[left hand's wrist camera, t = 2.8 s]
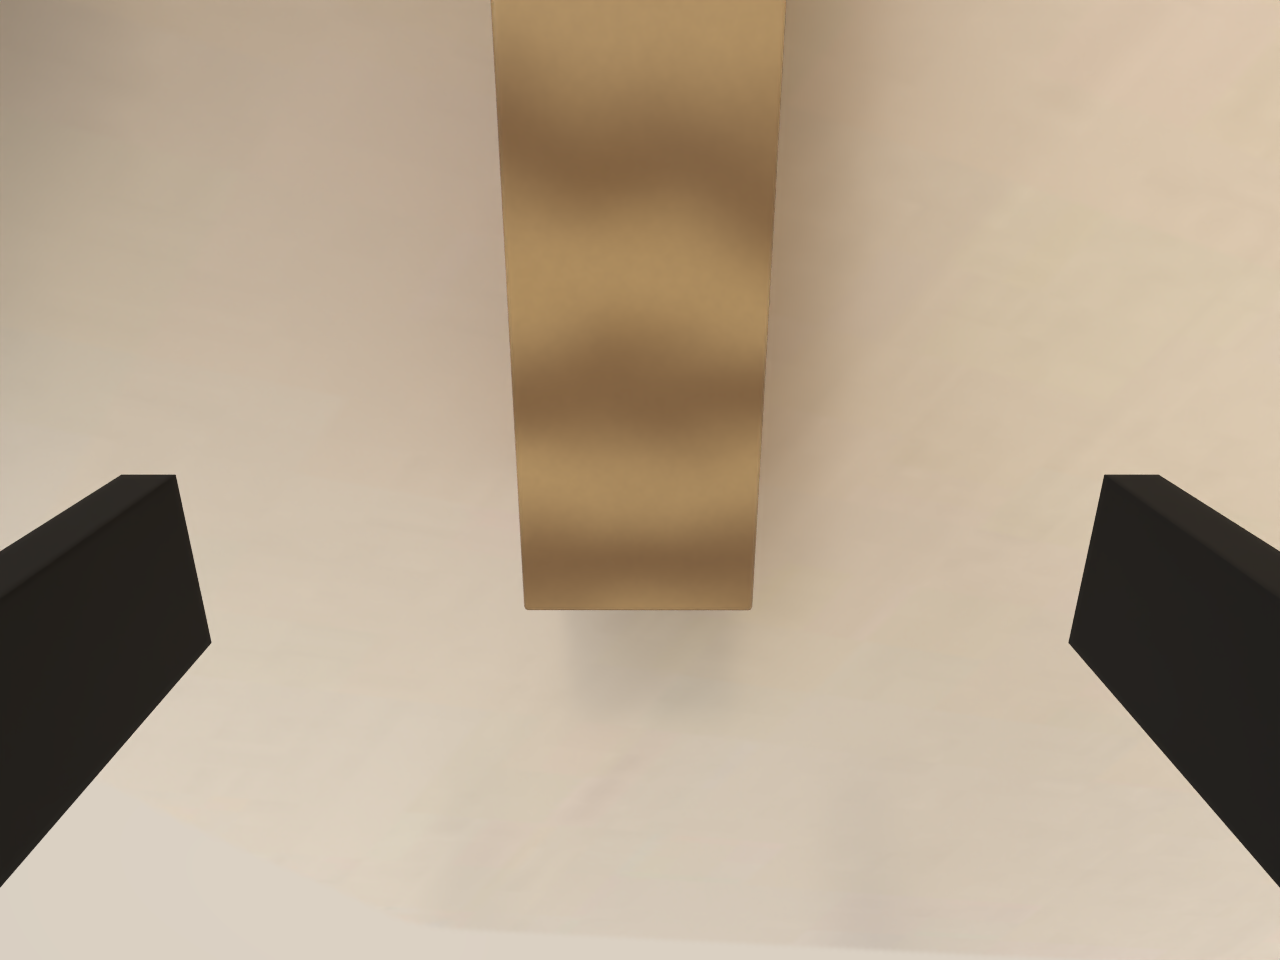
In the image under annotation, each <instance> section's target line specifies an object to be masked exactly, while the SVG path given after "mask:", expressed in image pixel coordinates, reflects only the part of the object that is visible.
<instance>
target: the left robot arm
mask: <svg viewBox="0 0 1280 960" xmlns="http://www.w3.org/2000/svg"><path fill="white" fill-rule="evenodd" d="M210 644H211V638H210V634H209V629H208V624H207V619H206V615H205V610H204V605H203V601H202V596H201V591H200V587H199V582H198V577H197V573H196V568H195V563H194V559H193V554H192V549H191V545H190V540H189V535H188V531H187V526H186V521H185V516H184V512H183V507H182V502H181V498H180V493H179V488H178V484H177V479H176V475H120V476H119V477H117V478H115V479H114V480H112V481H111V482H109V483H108V484H106V485H104V486H103V487H101V488H100V489H98V490H97V491H95V492H93V493H92V494H90V495H89V496H87V497H85V498H84V499H82V500H81V501H79V502H78V503H76V504H74V505H73V506H71V507H70V508H68V509H67V510H65V511H63V512H62V513H60V514H59V515H57V516H55V517H54V518H52V519H51V520H49V521H48V522H46V523H44V524H43V525H41V526H40V527H38V528H36V529H35V530H33V531H32V532H30V533H29V534H27V535H25V536H24V537H22V538H21V539H19V540H18V541H16V542H14V543H13V544H11V545H10V546H8V547H6V548H5V549H3V550H2V551H0V887H1V886H2V885H3V884H4V882H5V881H6V880H7V879H8V878H9V877H10V876H11V874H12V873H13V872H14V871H15V870H16V869H17V867H18V866H19V865H20V864H21V863H22V862H23V860H24V859H25V858H26V857H27V856H28V855H29V854H30V852H31V851H32V850H33V849H34V848H35V847H36V845H37V844H38V843H39V842H40V841H41V840H42V838H43V837H44V836H45V835H46V834H47V833H48V831H49V830H50V829H51V828H52V827H53V826H54V825H55V823H56V822H57V821H58V820H59V819H60V818H61V816H62V815H63V814H64V813H65V812H66V811H67V810H68V808H69V807H70V806H71V805H72V804H73V803H74V801H75V800H76V799H77V798H78V797H79V796H80V794H81V793H82V792H83V791H84V790H85V789H86V787H87V786H88V785H89V784H90V783H91V782H92V781H93V779H94V778H95V777H96V776H97V775H98V774H99V772H100V771H101V770H102V769H103V768H104V767H105V766H106V764H107V763H108V762H109V761H110V760H111V759H112V757H113V756H114V755H115V754H116V753H117V752H118V750H119V749H120V748H121V747H122V746H123V745H124V743H125V742H126V741H127V740H128V739H129V738H130V737H131V735H132V734H133V733H134V732H135V731H136V730H137V728H138V727H139V726H140V725H141V724H142V723H143V721H144V720H145V719H146V718H147V717H148V716H149V715H150V713H151V712H152V711H153V710H154V709H155V708H156V706H157V705H158V704H159V703H160V702H161V701H162V699H163V698H164V697H165V696H166V695H167V694H168V693H169V691H170V690H171V689H172V688H173V687H174V686H175V684H176V683H177V682H178V681H179V680H180V679H181V677H182V676H183V675H184V674H185V673H186V672H187V671H188V669H189V668H190V667H191V666H192V665H193V664H194V662H195V661H196V660H197V659H198V658H199V657H200V655H201V654H202V653H203V652H204V651H205V650H206V649H207V647H208V646H209V645H210ZM1069 644H1070V645H1071V646H1072V647H1073V649H1074V650H1075V651H1076V652H1077V653H1078V654H1079V655H1080V657H1081V658H1082V659H1083V660H1084V661H1085V662H1086V664H1087V665H1088V666H1089V667H1090V668H1091V669H1092V671H1093V672H1094V673H1095V674H1096V675H1097V676H1098V677H1099V679H1100V680H1101V681H1102V682H1103V683H1104V684H1105V686H1106V687H1107V688H1108V689H1109V690H1110V691H1111V693H1112V694H1113V695H1114V696H1115V697H1116V698H1117V699H1118V701H1119V702H1120V703H1121V704H1122V705H1123V706H1124V708H1125V709H1126V710H1127V711H1128V712H1129V713H1130V715H1131V716H1132V717H1133V718H1134V719H1135V720H1136V721H1137V723H1138V724H1139V725H1140V726H1141V727H1142V728H1143V730H1144V731H1145V732H1146V733H1147V734H1148V735H1149V737H1150V738H1151V739H1152V740H1153V741H1154V742H1155V743H1156V745H1157V746H1158V747H1159V748H1160V749H1161V750H1162V752H1163V753H1164V754H1165V755H1166V756H1167V757H1168V759H1169V760H1170V761H1171V762H1172V763H1173V764H1174V766H1175V767H1176V768H1177V769H1178V770H1179V771H1180V772H1181V774H1182V775H1183V776H1184V777H1185V778H1186V779H1187V781H1188V782H1189V783H1190V784H1191V785H1192V786H1193V788H1194V789H1195V790H1196V791H1197V792H1198V793H1199V794H1200V796H1201V797H1202V798H1203V799H1204V800H1205V801H1206V803H1207V804H1208V805H1209V806H1210V807H1211V808H1212V810H1213V811H1214V812H1215V813H1216V814H1217V815H1218V816H1219V818H1220V819H1221V820H1222V821H1223V822H1224V823H1225V825H1226V826H1227V827H1228V828H1229V829H1230V830H1231V832H1232V833H1233V834H1234V835H1235V836H1236V837H1237V838H1238V840H1239V841H1240V842H1241V843H1242V844H1243V845H1244V847H1245V848H1246V849H1247V850H1248V851H1249V852H1250V854H1251V855H1252V856H1253V857H1254V858H1255V859H1256V860H1257V862H1258V863H1259V864H1260V865H1261V866H1262V867H1263V869H1264V870H1265V871H1266V872H1267V873H1268V874H1269V876H1270V877H1271V878H1272V879H1273V880H1274V881H1275V882H1276V884H1277V885H1278V886H1279V887H1280V551H1278V550H1277V549H1275V548H1274V547H1272V546H1270V545H1269V544H1267V543H1266V542H1264V541H1262V540H1261V539H1259V538H1258V537H1256V536H1255V535H1253V534H1251V533H1250V532H1248V531H1247V530H1245V529H1244V528H1242V527H1240V526H1239V525H1237V524H1236V523H1234V522H1232V521H1231V520H1229V519H1228V518H1226V517H1225V516H1223V515H1221V514H1220V513H1218V512H1217V511H1215V510H1213V509H1212V508H1210V507H1209V506H1207V505H1206V504H1204V503H1202V502H1201V501H1199V500H1198V499H1196V498H1195V497H1193V496H1191V495H1190V494H1188V493H1187V492H1185V491H1183V490H1182V489H1180V488H1179V487H1177V486H1176V485H1174V484H1172V483H1171V482H1169V481H1168V480H1166V479H1165V478H1163V477H1161V476H1160V475H1104V479H1103V484H1102V488H1101V493H1100V498H1099V502H1098V507H1097V512H1096V516H1095V521H1094V526H1093V531H1092V535H1091V540H1090V545H1089V549H1088V554H1087V559H1086V563H1085V568H1084V573H1083V577H1082V582H1081V587H1080V591H1079V596H1078V601H1077V605H1076V610H1075V615H1074V619H1073V624H1072V629H1071V634H1070V638H1069Z"/></svg>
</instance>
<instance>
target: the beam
mask: <svg viewBox="0 0 1280 960" xmlns="http://www.w3.org/2000/svg"><path fill="white" fill-rule="evenodd" d="M491 12H492V30H493V48H494V66H495V84H496V102H497V120H498V138H499V157H500V175H501V193H502V211H503V229H504V247H505V265H506V283H507V301H508V319H509V338H510V356H511V374H512V392H513V410H514V428H515V446H516V464H517V482H518V501H519V519H520V537H521V555H522V573H523V591H524V606H525V609H527V610H750V609H751V608H752V599H753V581H754V564H755V546H756V528H757V510H758V493H759V475H760V457H761V439H762V422H763V404H764V386H765V368H766V351H767V333H768V315H769V297H770V280H771V262H772V244H773V226H774V209H775V191H776V173H777V155H778V138H779V120H780V102H781V85H782V67H783V49H784V31H785V14H786V0H491Z"/></svg>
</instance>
